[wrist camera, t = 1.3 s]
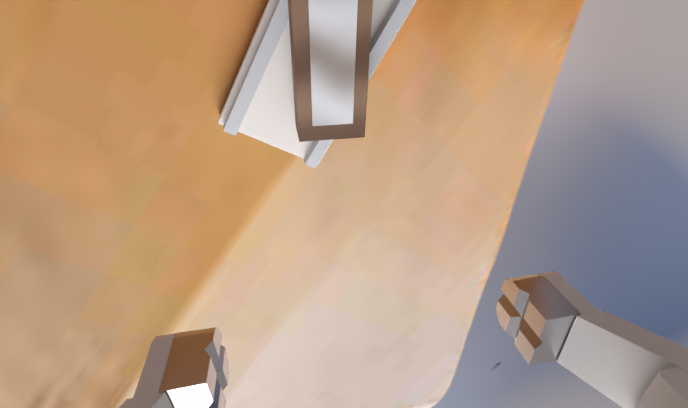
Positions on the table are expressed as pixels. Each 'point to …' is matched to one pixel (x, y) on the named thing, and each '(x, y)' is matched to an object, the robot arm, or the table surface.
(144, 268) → the table surface
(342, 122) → the picture frame
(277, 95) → the picture ledge
